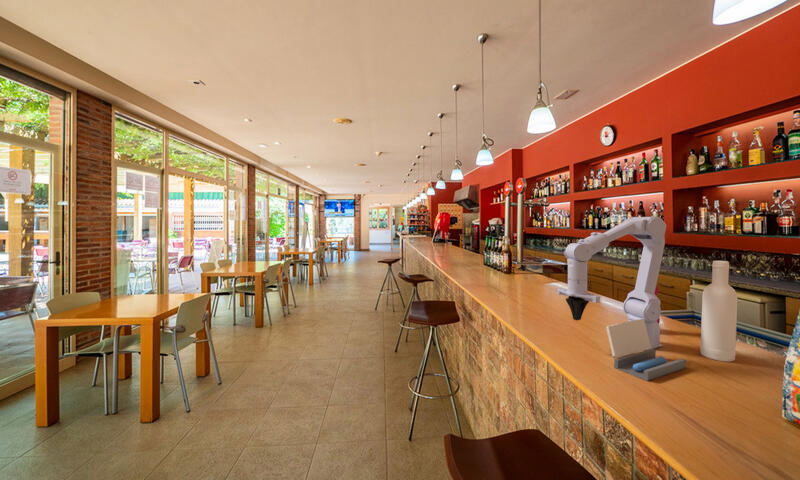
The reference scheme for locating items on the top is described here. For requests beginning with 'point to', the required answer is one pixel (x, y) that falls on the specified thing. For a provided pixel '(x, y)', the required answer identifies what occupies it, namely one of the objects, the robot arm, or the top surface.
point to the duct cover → (628, 337)
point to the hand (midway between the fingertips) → (577, 319)
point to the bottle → (719, 316)
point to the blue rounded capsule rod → (649, 363)
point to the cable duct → (650, 373)
